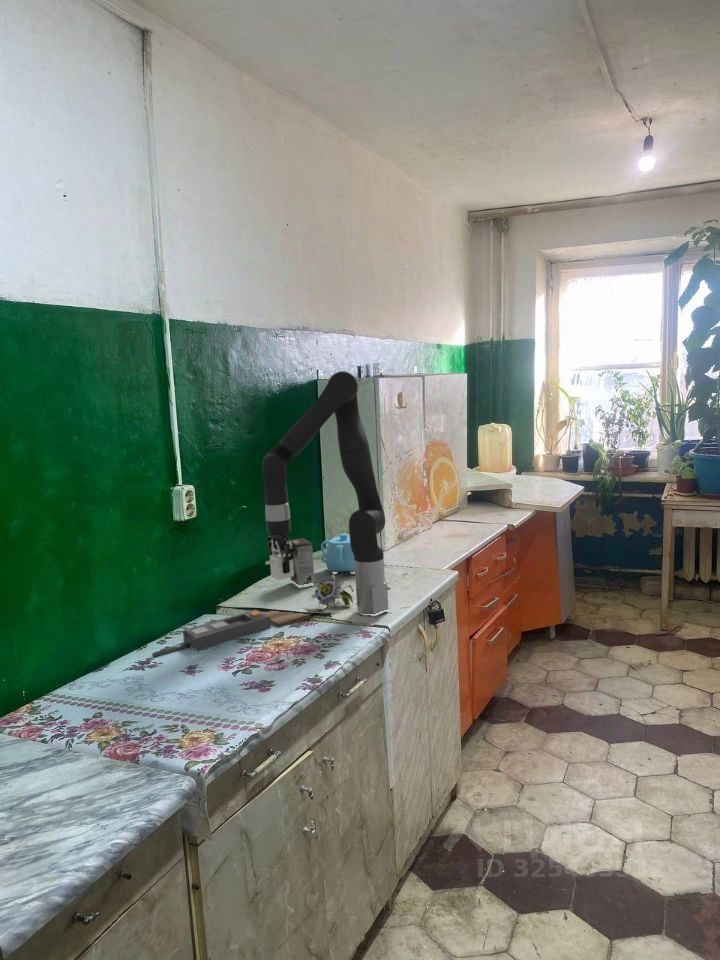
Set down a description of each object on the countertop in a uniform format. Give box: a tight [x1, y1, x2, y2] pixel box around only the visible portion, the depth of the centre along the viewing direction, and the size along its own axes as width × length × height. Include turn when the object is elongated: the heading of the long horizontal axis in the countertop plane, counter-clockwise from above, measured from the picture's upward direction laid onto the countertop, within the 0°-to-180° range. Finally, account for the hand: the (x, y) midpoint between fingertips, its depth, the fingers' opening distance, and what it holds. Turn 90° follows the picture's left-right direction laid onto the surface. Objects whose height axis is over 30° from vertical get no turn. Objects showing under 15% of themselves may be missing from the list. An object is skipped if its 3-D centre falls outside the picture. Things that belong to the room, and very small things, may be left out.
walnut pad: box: [263, 610, 310, 628], centre depth 215 cm, size 12×12×1 cm
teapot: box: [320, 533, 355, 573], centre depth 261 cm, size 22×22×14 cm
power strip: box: [151, 609, 272, 657], centre depth 200 cm, size 9×35×4 cm, turn 127°
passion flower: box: [310, 574, 354, 608], centre depth 223 cm, size 11×11×12 cm
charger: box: [265, 553, 294, 581], centre depth 212 cm, size 4×8×7 cm, turn 127°
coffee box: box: [289, 537, 315, 585], centre depth 247 cm, size 9×6×16 cm
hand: (282, 571), depth 213 cm, fingers closed on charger, 4 cm apart
